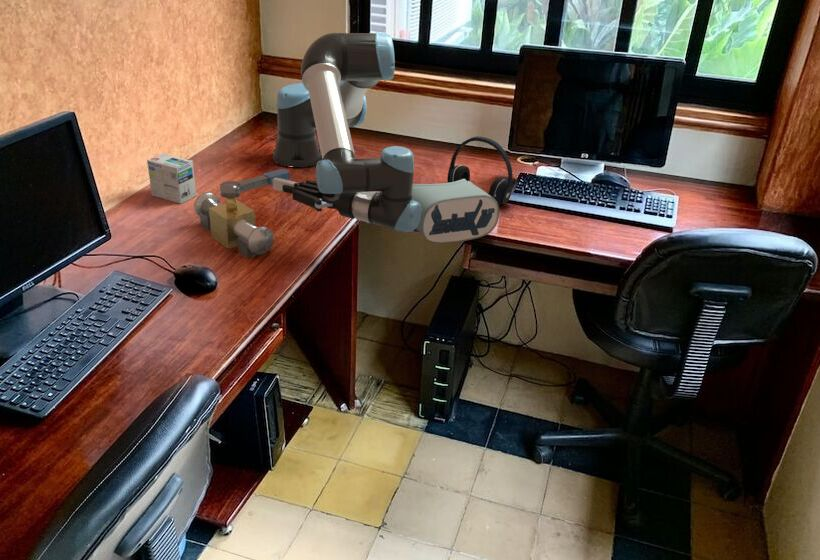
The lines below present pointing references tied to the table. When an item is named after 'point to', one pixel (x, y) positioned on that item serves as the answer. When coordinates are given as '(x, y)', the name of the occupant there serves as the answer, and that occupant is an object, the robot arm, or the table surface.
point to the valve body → (233, 225)
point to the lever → (251, 183)
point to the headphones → (499, 187)
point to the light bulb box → (171, 178)
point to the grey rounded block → (454, 211)
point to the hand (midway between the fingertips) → (274, 183)
